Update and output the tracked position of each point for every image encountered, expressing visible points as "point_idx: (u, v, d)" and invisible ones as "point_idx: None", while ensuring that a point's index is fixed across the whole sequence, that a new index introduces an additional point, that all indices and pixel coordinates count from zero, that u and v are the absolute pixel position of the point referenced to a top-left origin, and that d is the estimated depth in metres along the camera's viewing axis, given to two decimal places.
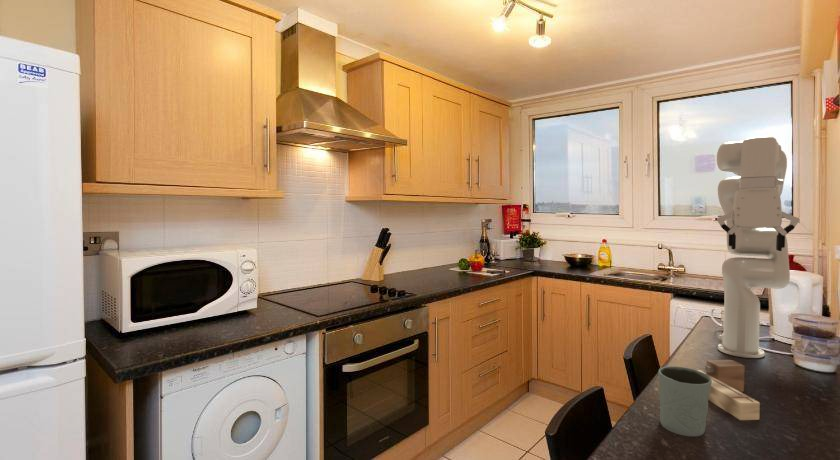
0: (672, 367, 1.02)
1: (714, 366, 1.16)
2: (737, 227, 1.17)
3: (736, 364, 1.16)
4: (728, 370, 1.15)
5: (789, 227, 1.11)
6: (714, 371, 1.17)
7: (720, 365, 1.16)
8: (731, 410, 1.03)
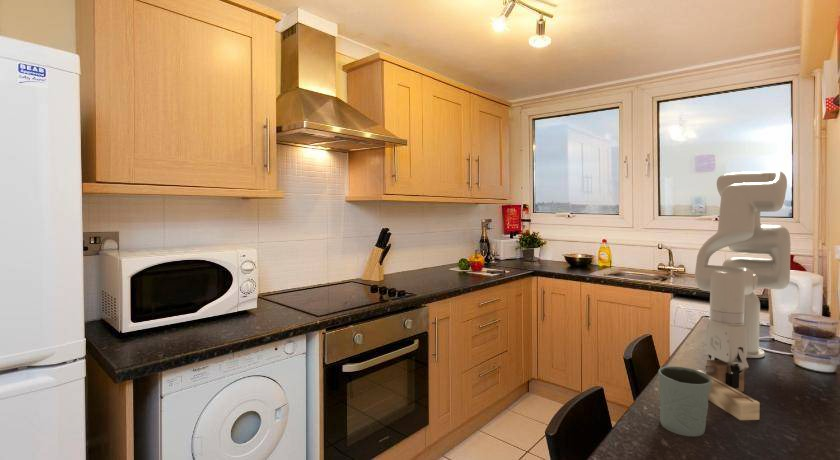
0: (672, 367, 1.02)
1: (714, 366, 1.16)
2: None
3: None
4: None
5: None
6: (714, 371, 1.17)
7: (720, 365, 1.16)
8: (731, 410, 1.03)
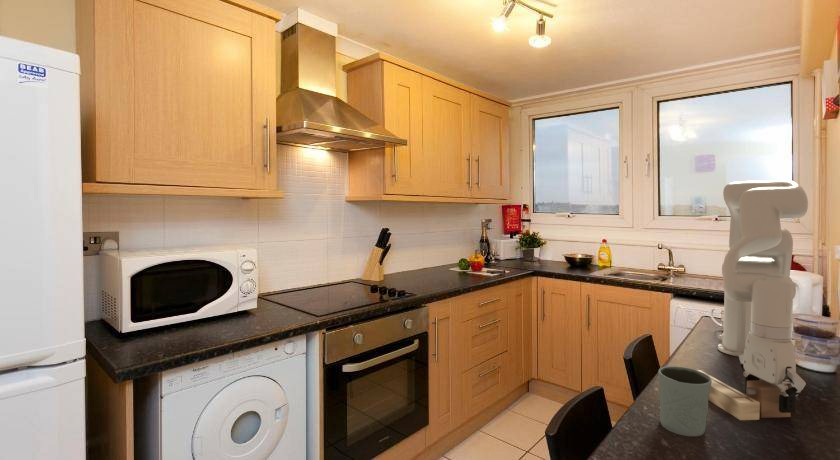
0: (672, 367, 1.02)
1: (756, 388, 1.02)
2: None
3: None
4: (773, 393, 1.01)
5: None
6: (756, 393, 1.03)
7: (764, 386, 1.02)
8: (731, 410, 1.03)
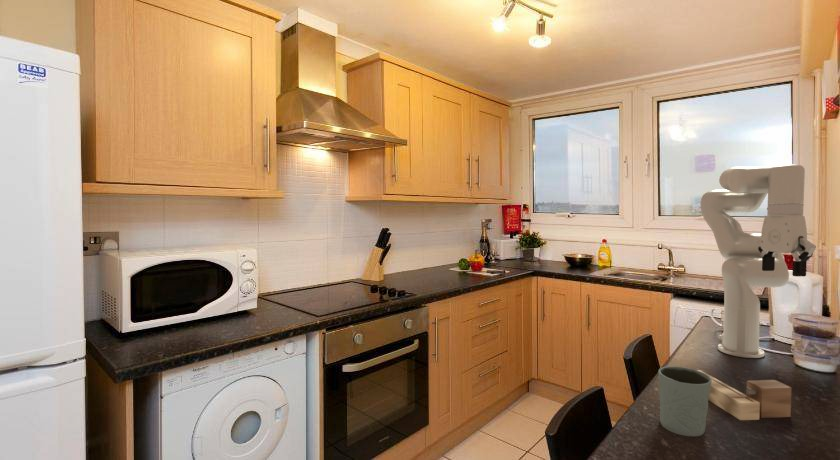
0: (672, 367, 1.02)
1: (756, 388, 1.02)
2: None
3: (781, 385, 1.02)
4: (773, 393, 1.01)
5: None
6: (756, 393, 1.03)
7: (764, 386, 1.02)
8: (731, 410, 1.03)
